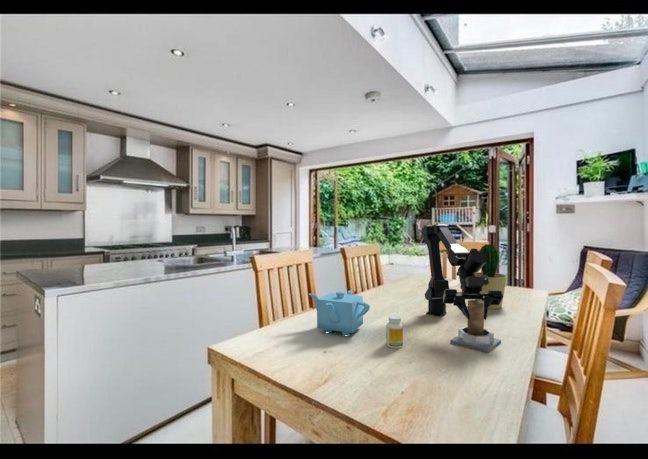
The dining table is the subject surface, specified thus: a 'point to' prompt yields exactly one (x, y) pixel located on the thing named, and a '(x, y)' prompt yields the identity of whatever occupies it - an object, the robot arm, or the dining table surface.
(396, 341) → the supplement bottle
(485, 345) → the dock
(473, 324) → the peg
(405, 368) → the dining table surface
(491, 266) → the potted cactus
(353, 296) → the teakettle
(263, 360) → the dining table surface
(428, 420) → the dining table surface
